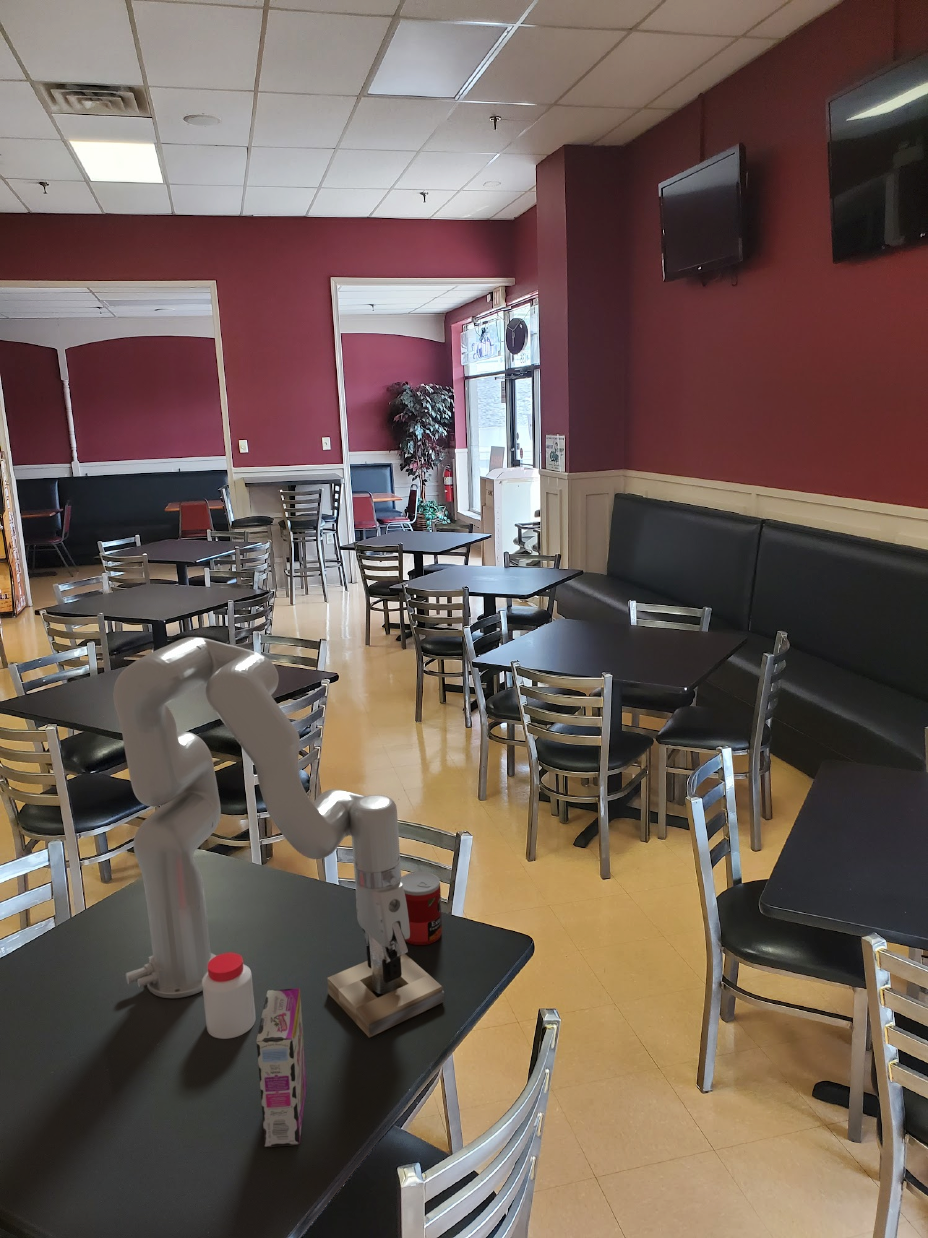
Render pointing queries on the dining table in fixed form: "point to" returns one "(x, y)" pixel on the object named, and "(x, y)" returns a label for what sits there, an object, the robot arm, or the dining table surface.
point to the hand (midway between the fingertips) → (384, 971)
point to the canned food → (423, 907)
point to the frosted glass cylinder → (380, 968)
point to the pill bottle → (228, 996)
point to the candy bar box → (282, 1067)
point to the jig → (384, 996)
